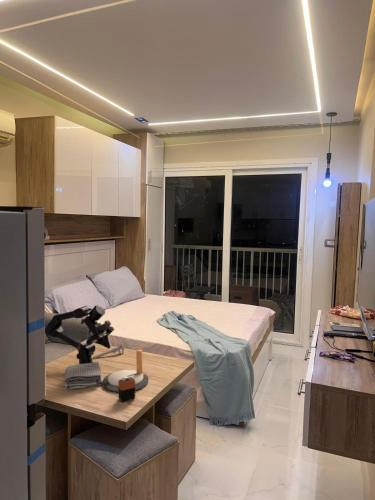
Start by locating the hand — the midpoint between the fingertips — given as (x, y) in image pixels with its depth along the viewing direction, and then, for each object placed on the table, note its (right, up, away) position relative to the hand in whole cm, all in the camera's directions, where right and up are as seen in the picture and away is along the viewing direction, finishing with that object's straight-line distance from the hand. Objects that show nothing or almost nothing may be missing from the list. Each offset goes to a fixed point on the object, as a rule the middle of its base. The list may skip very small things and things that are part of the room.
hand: (109, 348), depth 196 cm
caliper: (-7, -12, +25) cm, 28 cm away
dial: (+11, -13, -11) cm, 20 cm away
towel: (-11, -15, -11) cm, 22 cm away
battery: (+14, -16, -28) cm, 35 cm away
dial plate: (+11, -15, -11) cm, 21 cm away
